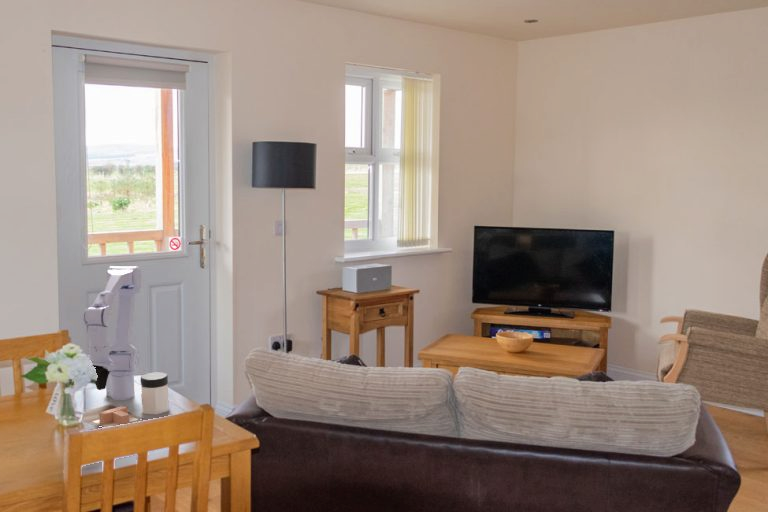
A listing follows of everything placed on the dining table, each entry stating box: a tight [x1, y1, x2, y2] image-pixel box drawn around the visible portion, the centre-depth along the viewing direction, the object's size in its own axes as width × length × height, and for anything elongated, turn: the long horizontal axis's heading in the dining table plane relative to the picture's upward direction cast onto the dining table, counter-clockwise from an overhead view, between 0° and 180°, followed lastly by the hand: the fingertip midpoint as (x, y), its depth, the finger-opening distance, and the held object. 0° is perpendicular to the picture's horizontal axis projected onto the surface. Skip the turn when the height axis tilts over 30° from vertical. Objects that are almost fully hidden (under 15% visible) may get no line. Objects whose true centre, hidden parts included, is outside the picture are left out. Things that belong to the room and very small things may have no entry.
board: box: [81, 403, 145, 429], centre depth 243 cm, size 20×13×1 cm, turn 49°
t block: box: [99, 405, 131, 425], centre depth 239 cm, size 8×8×3 cm
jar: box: [140, 371, 170, 415], centre depth 249 cm, size 9×8×12 cm
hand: (101, 388), depth 244 cm, fingers closed
